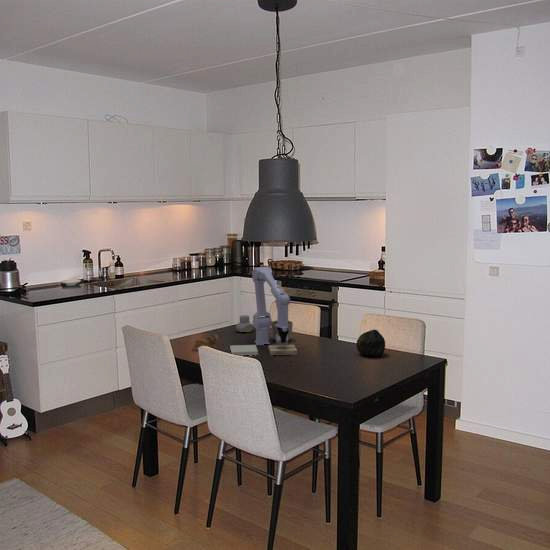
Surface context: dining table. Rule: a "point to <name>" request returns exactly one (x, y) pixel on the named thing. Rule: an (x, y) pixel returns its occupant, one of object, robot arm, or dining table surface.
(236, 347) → the stand
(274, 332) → the planter
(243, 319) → the air freshener
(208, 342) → the fried chicken drumstick
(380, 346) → the squash
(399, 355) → the dining table surface
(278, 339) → the block
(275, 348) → the stand
